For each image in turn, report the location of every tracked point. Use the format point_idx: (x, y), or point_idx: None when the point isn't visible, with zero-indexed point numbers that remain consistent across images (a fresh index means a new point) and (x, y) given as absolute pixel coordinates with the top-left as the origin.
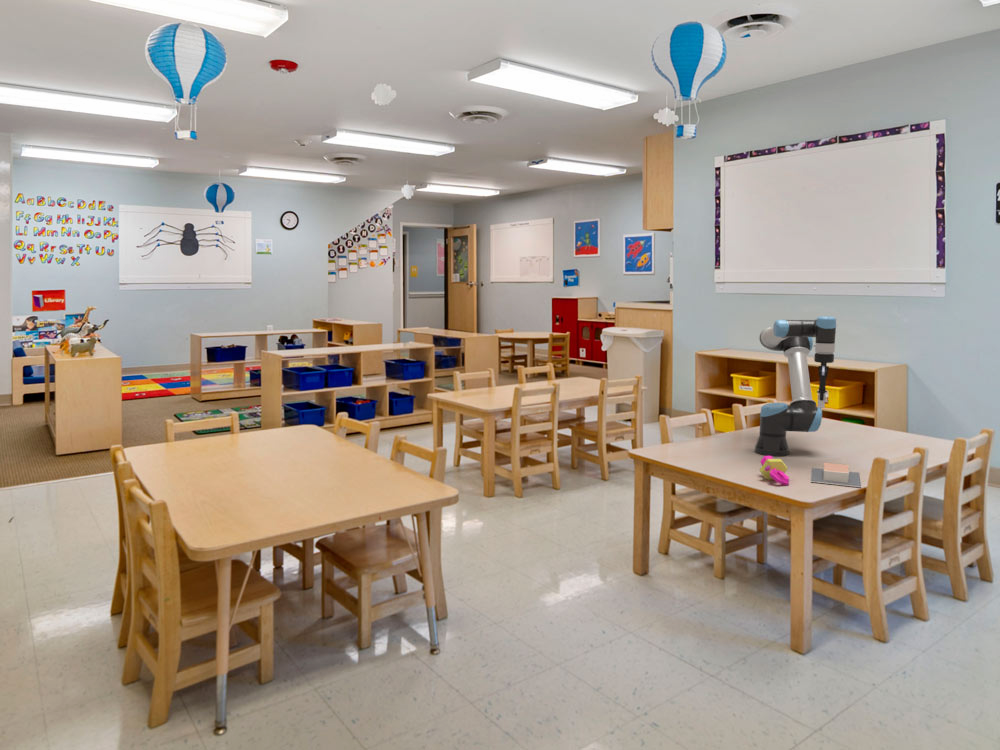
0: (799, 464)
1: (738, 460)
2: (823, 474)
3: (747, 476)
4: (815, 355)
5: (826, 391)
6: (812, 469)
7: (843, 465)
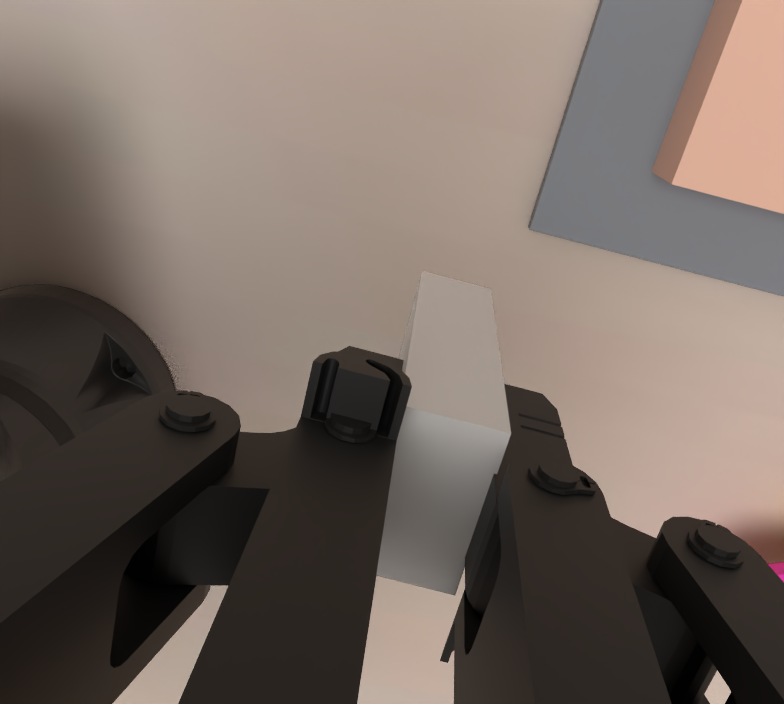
0: (381, 282)
1: None
2: None
3: None
4: None
5: (407, 398)
6: (582, 240)
7: (771, 30)
